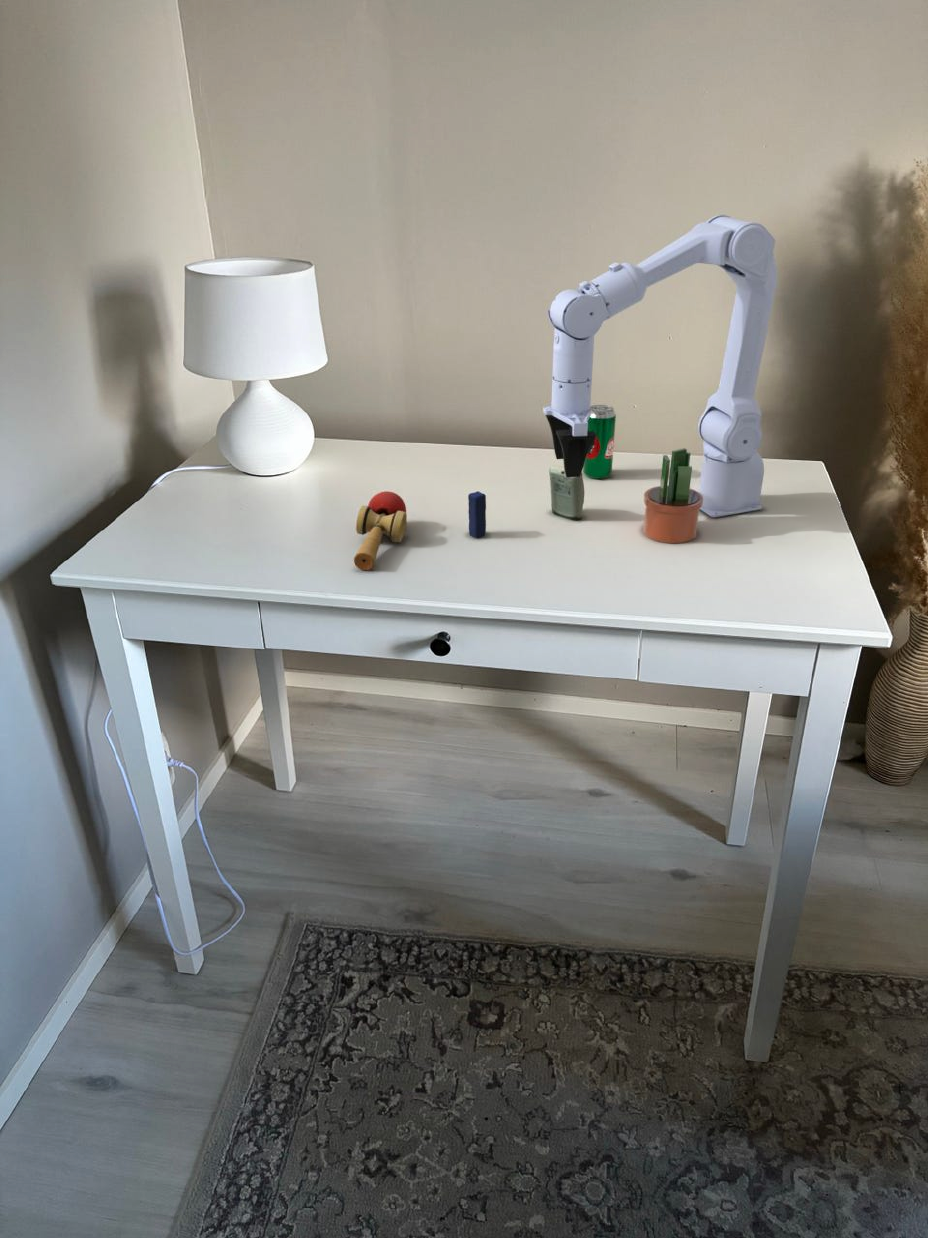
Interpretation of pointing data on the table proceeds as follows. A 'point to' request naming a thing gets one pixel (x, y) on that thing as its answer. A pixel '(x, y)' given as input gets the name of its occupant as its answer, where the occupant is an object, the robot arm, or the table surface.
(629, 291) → the robot arm
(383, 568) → the table surface
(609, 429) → the soda can
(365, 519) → the kendama
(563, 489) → the pale green rounded block
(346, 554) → the table surface
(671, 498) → the plant
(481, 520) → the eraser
